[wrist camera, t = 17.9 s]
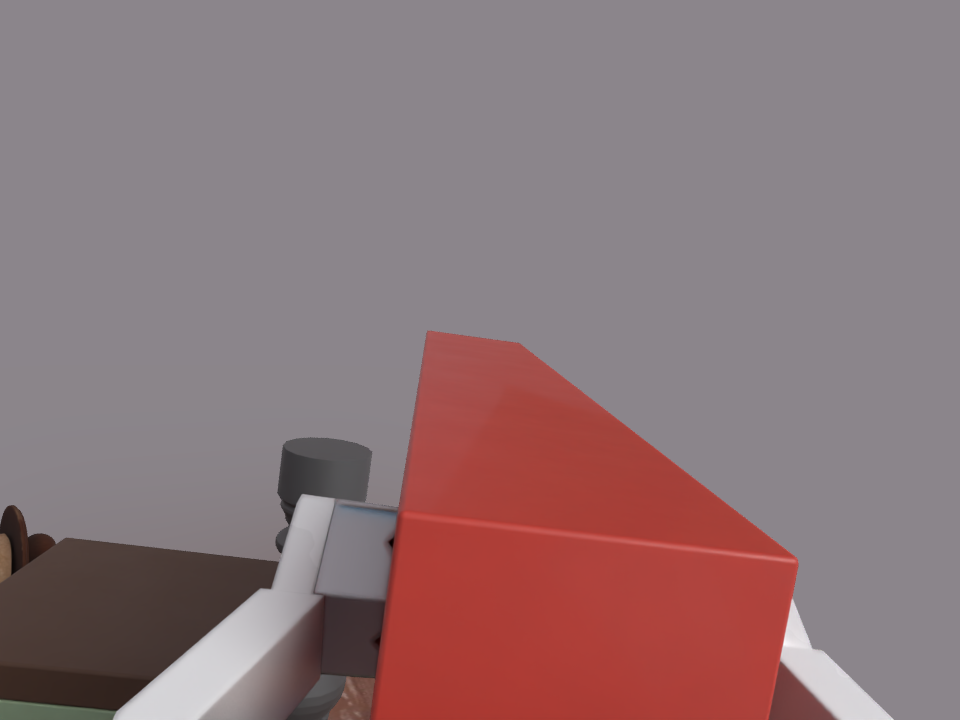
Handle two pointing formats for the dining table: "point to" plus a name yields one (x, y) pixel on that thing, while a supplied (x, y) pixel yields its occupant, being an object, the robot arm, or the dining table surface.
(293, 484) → the candle holder
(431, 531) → the red bar
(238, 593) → the step shelf
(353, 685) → the dining table surface
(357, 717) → the dining table surface
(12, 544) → the scroll
